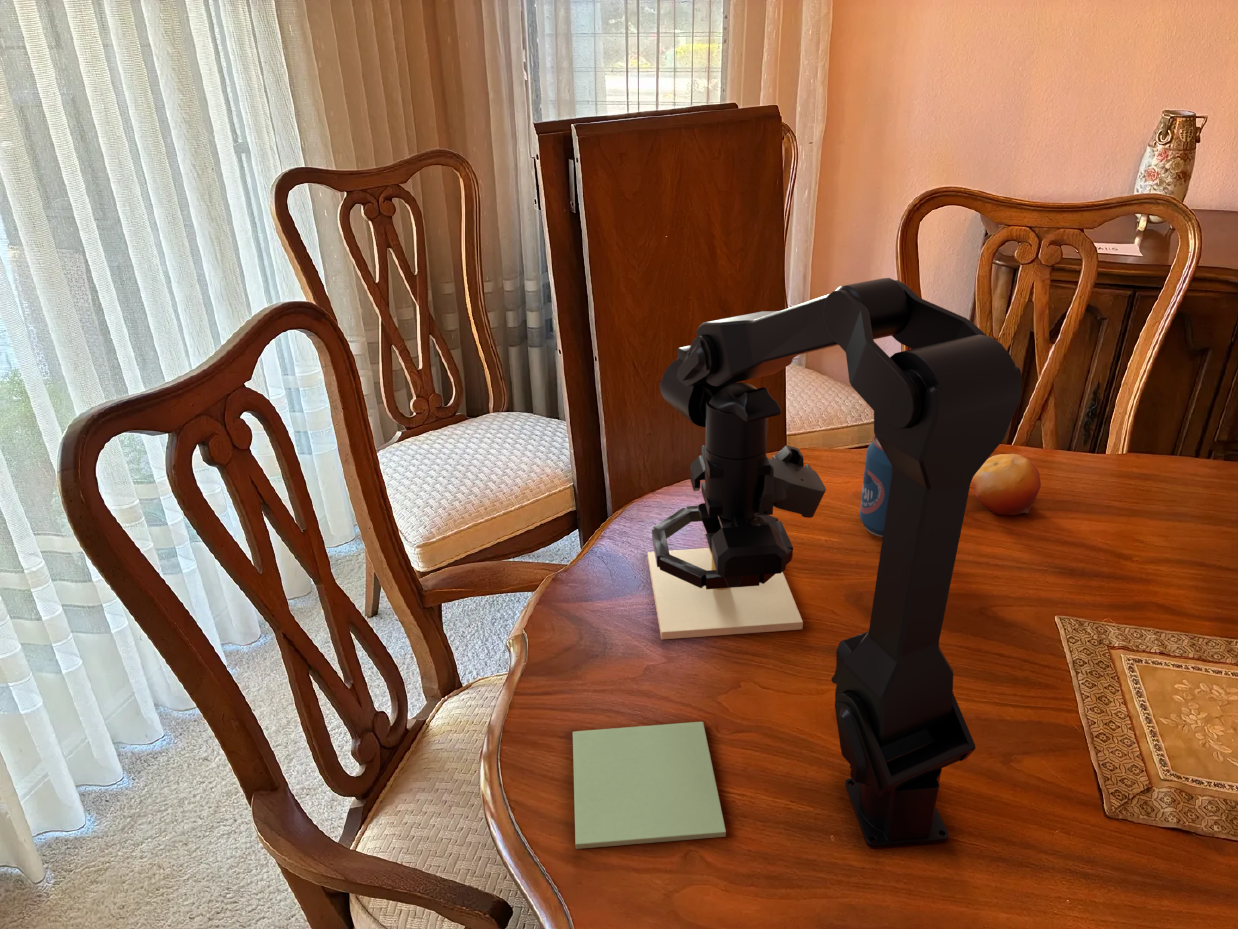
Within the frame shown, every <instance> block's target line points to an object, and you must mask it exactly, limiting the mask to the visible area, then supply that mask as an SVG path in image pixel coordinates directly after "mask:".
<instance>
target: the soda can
mask: <svg viewBox="0 0 1238 929" xmlns="http://www.w3.org/2000/svg"><path fill="white" fill-rule="evenodd" d="M891 477H892V465H891V463H890V461H889V460H888V458H887V456H886V454H885V452H884V451H883V449H882V447H881V445H880V443H879V441H878V440H877V438H876V436H875V435H874V436H873V438H872V441H871V443H870V444H869V445H868V447H867V449H866V454H865V462H864V471H863V480H862V490H861V496H860V505H859V506H860V507H859V518H860V520H861V523H862V524H863V526H864V529H866V530H867V531H868V532H869V533H870V534H872V535H874V536H876V537H880V538H883V531H884V524H885V518H886V511H887V504H888V497H889V490H890V483H891Z"/></svg>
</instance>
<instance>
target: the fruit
mask: <svg viewBox="0 0 1238 929" xmlns="http://www.w3.org/2000/svg"><path fill="white" fill-rule="evenodd" d="M1041 484H1042V482H1041V474H1040V471H1039V469H1038V468H1037V467H1036V465H1035V464H1034V463H1033V462H1032V460H1030V459H1029V458H1027V457H1026V456H1024V455H1021V454H1016V453H1009V454H1006V453H1003V454H995V455H992V456H990V457H989V458H988V459H987V460H986V462H985V463H984V464H983V465H982V466H981V468H980V469H979V470H978V471H977V473H976V474H975V475H974V477H973V479H972V481H971V486H972V489H973V493H974V494H975V496H976V498H977V500H978V502H979V503H980V504H981V505H982V506H983V507H984V508H986V509H987V510H988V511H989V512H991V513H994V514H996V515H999V516H1015V515H1019V514H1024V513H1025V514H1029V511H1030V509H1032V506H1033V504H1034V503H1035V501H1036V498H1037V497H1038V494H1039V492H1040V490H1041V487H1042V485H1041Z"/></svg>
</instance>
